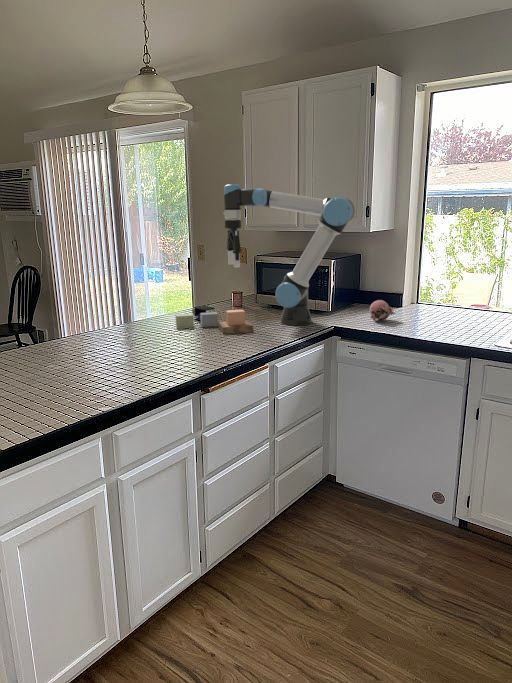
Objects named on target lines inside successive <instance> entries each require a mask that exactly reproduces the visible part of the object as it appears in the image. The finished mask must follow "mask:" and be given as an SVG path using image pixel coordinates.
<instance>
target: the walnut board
mask: <svg viewBox="0 0 512 683" xmlns="http://www.w3.org/2000/svg"><path fill="white" fill-rule="evenodd" d="M217 327H218V329H219V331H220V332H221V334H223V335H227V334H240V333H242V334H243V333H252V332H254V325H253V324H252V323H251V322H250V321H249V320H248V319H245V324H241V325H227V323H226V321H218V326H217Z"/></svg>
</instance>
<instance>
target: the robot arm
mask: <svg viewBox="0 0 512 683" xmlns="http://www.w3.org/2000/svg"><path fill="white" fill-rule="evenodd" d="M223 206H224V209H223V210H224V212H223V213H222V214H223V215H224V228H225V229H227V239H226V240H227V243H226V249H227V262H228V266H229V265H231V266H232V265H233V268H234V269H235V268H237V269H238V268H241V258H240V257H241V254H240V253H242V249H241V242H240V231H239V230H237V229H241V228H242V220H241V218H242V209H241V207H265V208H273V209H277V210H283V211H290V212H295V213H296V212H297V213H301V214H307V215H312V216H318V217H319V218H318V220H317V221H318V227H317V229H315V232H314V234H313V235H312V237H311V239H310V240H309V242H308V244H307V246H306V247H305V249H304V250H303V251H302V254H301V256H300V258H299V259H298V261H297V263H296V265H295V266H294V267H293V270H292V271H290V272H287V273H286V275H285V276H284V277H283V280H282V281H281V283H279V285H278V286H277V287H276V289H275V293H274V294H275V299H276V301H277V303H278V304H279V305H280V306H281V307H283V310H282V312H281V316H280V323H281V324H283V325H287V326H305V325H310V324H311V323H312V320H313V319H312V318H313V317H312V315H311V311H310V308H309V287H310V284H309V281H310V279H311V277H312V276H313V274H314V273H315V271H316V270H317V268H318V266H319V264H320V263H321V261H322V259H323V258H324V256H325V255H326V252H327V251H328V250H329V248H330V246H331V244H332V243H333V241H334V240H335V238H336V236H338V235H341V234H342V232H343V231H344V229H345V228H346V226H347V225H348V223H350V221H351V220H352V219H353V218H354V216H355V211H356V210H355V209H356V208H355V205H354V203H353V202H352V200H350V199H348V198H346V197H343V196H342V197H341V196H335V197H326V198H319V197H311V196H306V195H301V194H293V193H285V192H280V191H275V190H274V191H273V190H267V189H266V188H259V187H256V188H241V186H240V184H226V185H224V186H223Z"/></svg>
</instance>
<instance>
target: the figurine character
mask: <svg viewBox="0 0 512 683" xmlns="http://www.w3.org/2000/svg"><path fill="white" fill-rule="evenodd" d="M191 310H192V311H191V312H192V313H191V314H193V316H194V317H195V318H196V320H200V313H208V311H212V310H215V307H212V306H208V305H201V306H195V307H194V308H192V309H191Z"/></svg>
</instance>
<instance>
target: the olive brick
mask: <svg viewBox="0 0 512 683" xmlns="http://www.w3.org/2000/svg"><path fill="white" fill-rule="evenodd" d="M194 323H195V322H194V315H193V313H180V314H175V327H176V329H179V330H180V329H192V328H194V327H195V324H194Z"/></svg>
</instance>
